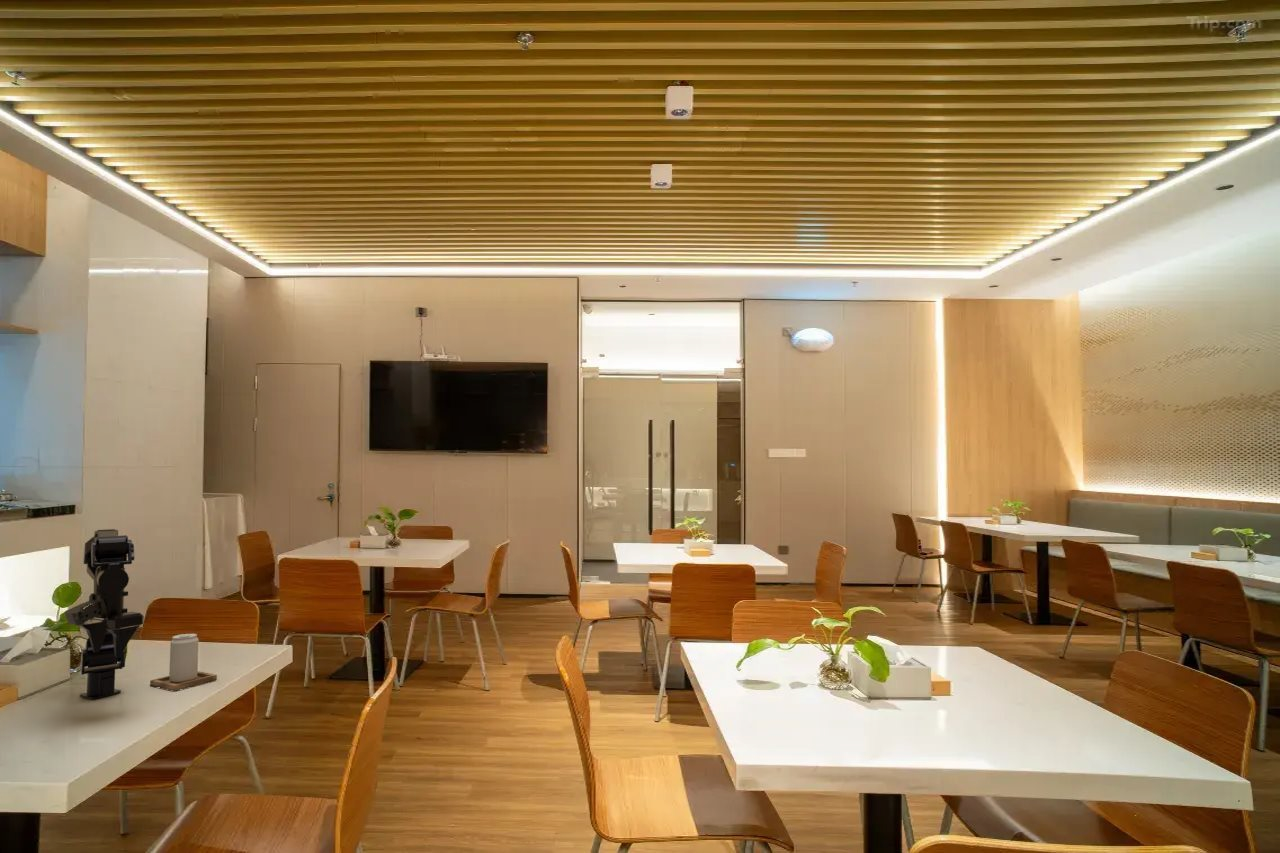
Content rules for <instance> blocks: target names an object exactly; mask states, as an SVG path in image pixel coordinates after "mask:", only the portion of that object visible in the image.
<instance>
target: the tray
mask: <svg viewBox="0 0 1280 853" xmlns="http://www.w3.org/2000/svg"><path fill="white" fill-rule="evenodd" d="M217 677H218V675H217V674H214V673H208V672H204V671H199V670H197V677H196V678H195V679H194V680H191V681H187V682H183V683H179V684H175V683H172V682H171V681H169V675H167V676H163V677H159V678H155V679H150V682H149V684H150V685H149V686H150V687H152V686H154V687H153V688H156V687H160V688H159V689H161V688H164V689H163V690H165V689H168V690H167V691H170V690H173V691H172V692H174V691H176V690H179V691H181V690H180V689H183V690H185V689H184V688H187V689H189V688H188V687H191V688H194V687H198V686H201V684H202V685H205V683H206V684H209V683H213V682H216V680H218V678H217ZM212 681H213V682H212ZM208 682H209V683H208ZM197 685H198V686H197ZM193 686H194V687H193ZM176 692H177V691H176Z"/></svg>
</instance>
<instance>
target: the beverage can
mask: <svg viewBox="0 0 1280 853" xmlns="http://www.w3.org/2000/svg"><path fill="white" fill-rule="evenodd" d="M197 636H198V634H197V633H185V634H184V633H183V634H177V635H176V634H175V635H174V636H172V638H171V639H172V640H170V646H169V647H170V648H169V650H170V651H169V672H168V676H169V681H171V682H172V683H175V684H179V683H183V682H187V681H191V680H194V679H195V678H196V677H197V671H199V670H198V668H199V667H198V664H199V641H200V640H199V638H198V637H197Z"/></svg>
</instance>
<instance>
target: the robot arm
mask: <svg viewBox="0 0 1280 853" xmlns="http://www.w3.org/2000/svg"><path fill="white" fill-rule="evenodd" d="M83 548H84V549H83V562H82V563H83V565H86V573H87V574H88V576H89V577H91V579H92V580H93V592H92V593H90V595H89V596H88V597H89V598H88V600H87V601H84V602H82V603H80V604H78V605H76V606H73V607H71V608H69V609H67V610H65V611H64V612H63V613H64V616H65V619H66V621H67V623H68V625H69V626H71V625H74V626H77V627H79V628H82V629H83V630H85V632H86V634H87V636H88V638H87V640H86V642H85V646H84V649H82V650H81V655H80V656H81V657H80V675H81V676H83V675H86V678H87V679H86V692H85V693H80V694H79V697H81V698H85V699H90V700H96V699H101V698H104V697H109V696H112V695H116V694H120V693H122V690H120V689H116V686H115V685H116V670H122V669H124V668H125V667H126V658H127V657H126V656H127V649H126V648H127V646H128V644H129V642H130V640H131V639H132V637H133V636H134V634H135V632H136V631H137V630H138V629H139V628H140V626H141V625H144V618H145V616H144V615H143V614H142V613H141V612H136V611H128V609H129V608H126V607H124V606H125V605H124V604H125V603H124V602H125V597H128V596H129V591H128V590H125V588H126V587H127V586H128V584H129V581H130V576H129V575H128V572H127V571H126V568H125V565H132V564H133V561H135V558H136V557H135V546H134V543H133V541H132V539H129V536H128V535H124V534H123V535H119V530H118V529H115V528H111V529H109V528H108V529H98V530H94V532H93V536H92V537H91V538H90V539H89V540H88V541H86V542H85V543H84V547H83ZM90 604H91V605H90ZM88 605H89V606H88ZM86 606H88V607H86ZM84 607H86V608H85V609H83V608H84Z"/></svg>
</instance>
